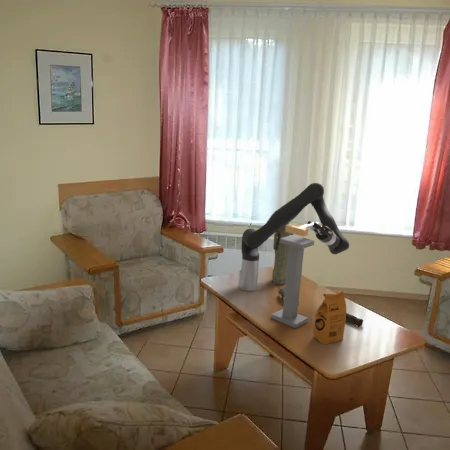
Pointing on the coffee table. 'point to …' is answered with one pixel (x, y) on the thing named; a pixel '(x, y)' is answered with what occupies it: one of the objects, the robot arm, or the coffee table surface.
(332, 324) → the coffee package
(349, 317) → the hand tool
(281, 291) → the rhino figurine
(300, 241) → the headphone stand
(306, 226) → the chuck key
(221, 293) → the coffee table surface
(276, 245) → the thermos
